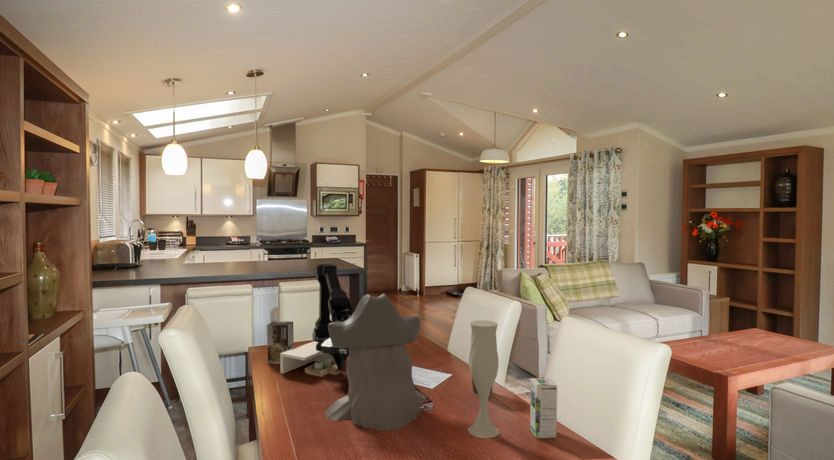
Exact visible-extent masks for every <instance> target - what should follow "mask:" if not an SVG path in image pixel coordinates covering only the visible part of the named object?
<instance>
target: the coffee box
mask: <svg viewBox="0 0 834 460" xmlns="http://www.w3.org/2000/svg"><path fill="white" fill-rule="evenodd" d="M266 338H267V339H266V341H267V344H266V346H267V364H270V365H280V353H283V352H285V351H288V350H291V349H294V348H295V347H294V346H295V345H294V343H295V342H294V340H295V339H294V321H281V320H280V321H275V320H273V321H271V322H270V323H268V324H266Z"/></svg>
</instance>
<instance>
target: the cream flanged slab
mask: <svg viewBox="0 0 834 460" xmlns="http://www.w3.org/2000/svg"><path fill="white" fill-rule="evenodd" d="M317 343H319V342H314V341H311V342H309V343H305V344H302V345H299V346H296V347H294V349H291V350H288V351H285V352H283V353H280V364H279V365H280V374H285V373H288V372H290V371H291V372H292V371H293V370H296V369H297V368H300V367H303V366H306V365H307V364H309V363H313V362H318V361H322V359H324V358H330V359H331V361H332V362H335V360H334V358H333V356H331V355H330V354H328V353H323V351H316V345H317Z"/></svg>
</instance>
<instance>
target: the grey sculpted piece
mask: <svg viewBox="0 0 834 460" xmlns="http://www.w3.org/2000/svg"><path fill="white" fill-rule="evenodd" d="M420 328H421V317H419V316H416V315H415V316H414V315H413V316H411V315H410V316H402V315H400V314H399V312H398V310H397V309H396V308H395V306H394V304H393V302H392V301H391V300H390V298H389V297H388V296H387V295H386V294H385V293H382V294H380V295H379V296H373V295H370V294H365V295H363V296H362V297H361V299H360V300H359V302H358V304H357V305H356V307H355V309H354V310H353V312H352V315H349V318H348V319H347V320H346V321H343V322H332V323H330V324H328V331H329V335H330V338H331V341H332V345H333V347H334V348H349V355H348V357H347V358H348V359H347V363H346V368H345V369H346V372H345V373H346V378H347V381H348V389H347V394H346V395H345V396H343V397H341V398H339V399H337V400H335V401H334V402H333V403H332V404H330V406H329V407H327V409H326V410H325V411H324V414H325V416H326V418H325V419H327V420H331V421H335V422H339V421H345V420H352V422H353V423H354V425H355V426H362V428H363V429H371V430H373V429H374V430H379V431H387V432H390V431H393V430H396V431H397V430H401V429H402V428H405V427H406V425H409V424H410V423H412V422H414V421H415V422H416V420H417V419H418V418H419V416H420V409H419V407H421V406H423V405H422V403H423V402H424V401H425V400H426V397H427V396H426V395H424V394H423V393H422V392H420V391H418V390H417V389H416V385H415V383H414V379H413V372H412V371H413V370H412V369H413V360H412V357H411V354H410V353H409V351H407V349H406V344H411V343H414V342H416V341H417V340H418V339H419V334H420ZM429 408H430V407H427V406H424V408H423V409H424V410H425V409H429ZM423 409H422V410H423Z"/></svg>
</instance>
